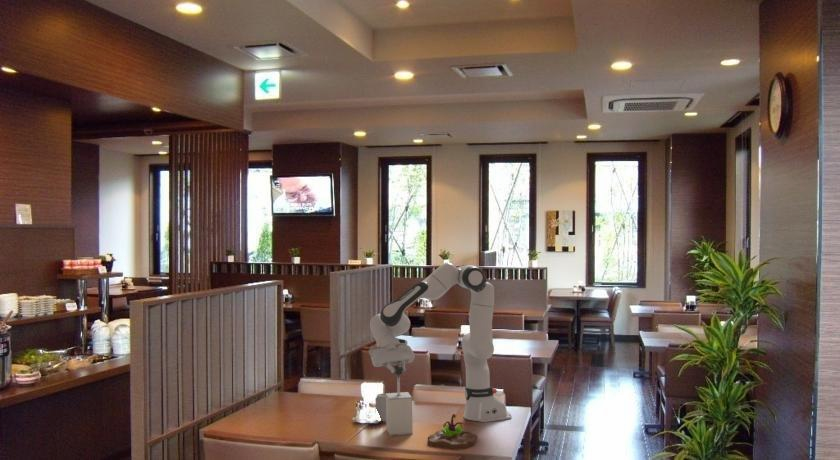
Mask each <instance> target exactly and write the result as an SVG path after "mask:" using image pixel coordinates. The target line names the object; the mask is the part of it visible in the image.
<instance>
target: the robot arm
mask: <svg viewBox="0 0 840 460" xmlns="http://www.w3.org/2000/svg"><path fill="white" fill-rule="evenodd" d="M455 285H457V286H458V287H460V288H464V289H467V290H470V293H471V294H470V295H471V298H470V306H469V315H468V325H469V332H468V333H466V334H464V335H463V337H462V338H461V341H460V342H461V347H462V354H463V360H464V365H465V385H466V386H465V387H464V389H465V390H464V398H465V407H464V413H463V416H462V417H463V418H464V419H465V420H468V421H474V422H480V423H488V422H495V421H503V420H509V419H512V414H511V413H510V412H509V411H508V410H507V406H506V404H505V402H504V401H503V400H502V399H501V398H499V397H497V395H495V394H497V392H498V390H497V389H496V388H494V387H492V386H490V384H491V383H490V368H489V364H488V360H489V359H490V358H491V357H492V356H493V354H494V351H495V348H494V347H495V346H494V341H493V340H494V339H493V336H494V335H493V317H494V309H495V287H494V285H493V284H492V283H491V282H489V281H487V278H486V276H485V273H484V271H483V270H482V269H481V268H480V267H479V266H476V265H471V264H467V265H466V264H462V265H459V266H458V265H457V266H456V265H455V264H453V263H451V262H445V263H443V264H442V265H439V266H438V267H437V268H436V269H435V270H434V271H432V272H431V273H430V274H429V275H428V276H427V277H426V278H424V279H423V280H422V281H418V282H416V283H415V284H414V285H412V286H411V287H410V288H408V289H407V290H406V291H404V293H402V294H400V296H398V297H397V298H395V299H394V300H393V301H391V302H388V303H386V304H385V305H384V306H383V307H382V308H381V310H380V313H378V314H376V315H373V316H372V317H371V319H370V321H369V328H370V332H371V334H372V335H371V336H373V338H374V340H375V343H376V346H377V347H370V348H369V349H368V354H369V356H370V359H371V363H372V366H373V367H375V368H380V367H385V368H387V369H388V370H389V371H390V372H391V374H394V373H395V372H396V369H395V367H394V366H398V365H400V366H402V373H403V372H406V369H407V368H406V364H410V363H413V362H414V360H415V358H416V355H415V352H414V351H413V349H412V348H411V346H410V345H408V341H407V339H403V338H399V337H400V336H402V335H404V334H406V333H407V332H408V331H409V330H410V328H411V320H410V319H409V317H408V316H407V314H406V313H405V312H406V309H408V308H409V307H411V305H413V304H414V303H415V302H416V301H418V300H420V299H427V300H430V301H436V300H439V299H440V298H442V297H443V296H444V295H445V294H446V293H447V292H448V291H449V290H450V289H451V288H452V287H453V286H455Z"/></svg>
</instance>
